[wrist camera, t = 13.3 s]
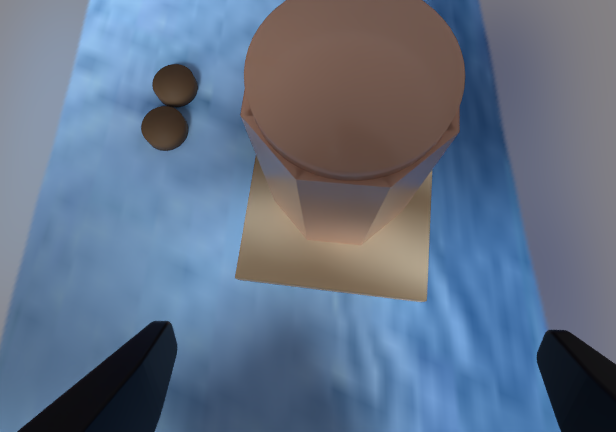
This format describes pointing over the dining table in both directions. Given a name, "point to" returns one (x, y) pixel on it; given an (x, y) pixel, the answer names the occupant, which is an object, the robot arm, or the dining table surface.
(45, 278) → the dining table surface
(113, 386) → the robot arm
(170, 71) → the ball
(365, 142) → the salmon domed prism
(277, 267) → the birch board
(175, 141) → the ball
